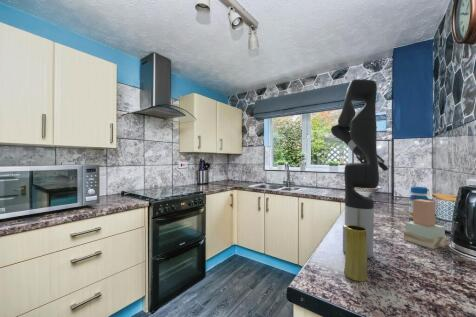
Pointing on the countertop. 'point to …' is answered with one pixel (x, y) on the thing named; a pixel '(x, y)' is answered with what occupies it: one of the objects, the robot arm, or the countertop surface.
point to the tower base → (425, 240)
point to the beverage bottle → (416, 198)
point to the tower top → (425, 230)
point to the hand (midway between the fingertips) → (380, 169)
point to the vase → (356, 253)
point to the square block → (424, 212)
